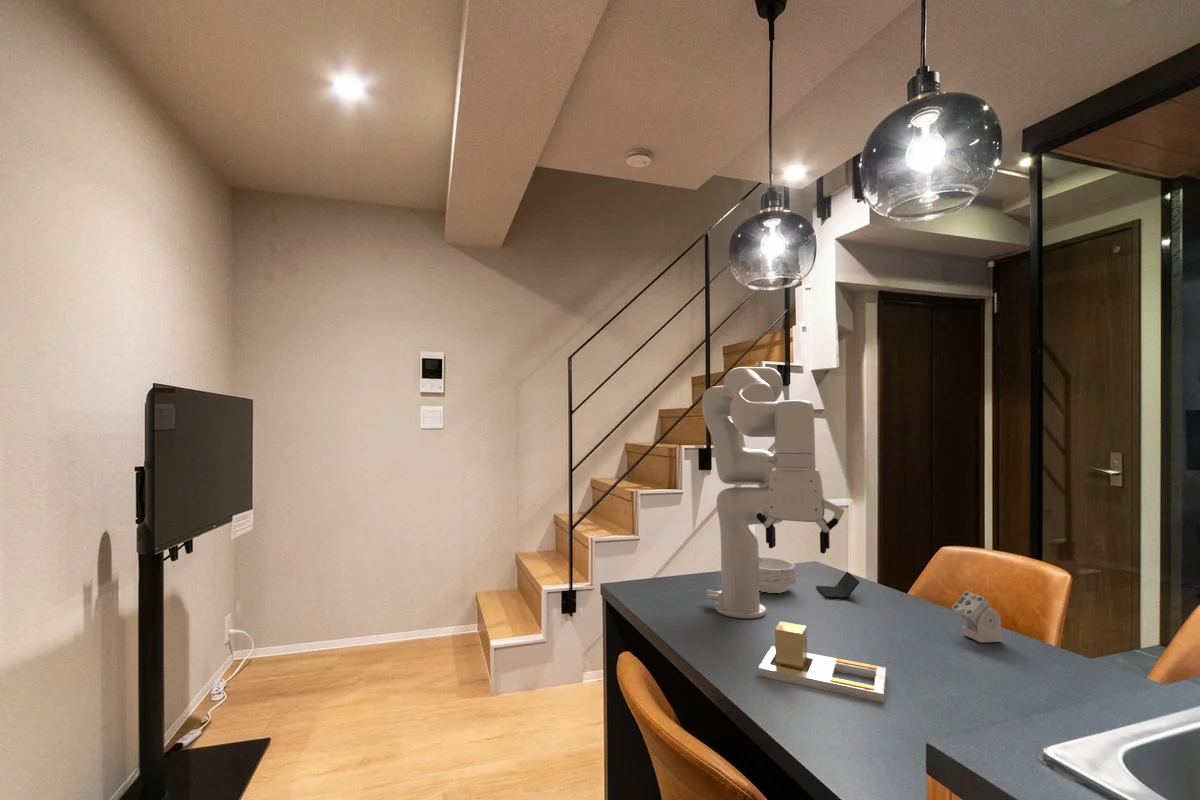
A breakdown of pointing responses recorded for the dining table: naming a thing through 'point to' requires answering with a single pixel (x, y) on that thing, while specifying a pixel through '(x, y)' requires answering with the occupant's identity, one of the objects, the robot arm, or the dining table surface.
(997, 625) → the mechanical component
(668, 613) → the dining table surface
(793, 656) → the brass block
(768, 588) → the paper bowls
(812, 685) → the white flat frame
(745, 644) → the dining table surface
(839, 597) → the handheld gaming console
